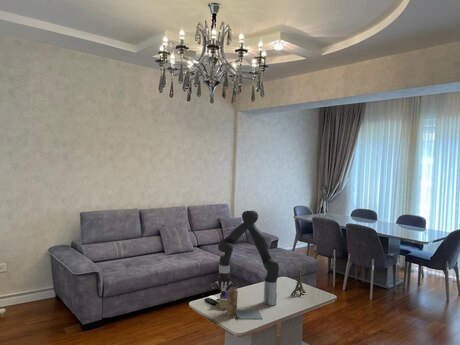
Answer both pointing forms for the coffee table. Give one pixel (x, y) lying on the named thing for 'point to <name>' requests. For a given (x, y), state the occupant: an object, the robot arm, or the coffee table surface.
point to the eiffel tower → (299, 284)
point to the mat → (248, 314)
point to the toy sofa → (223, 300)
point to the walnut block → (232, 302)
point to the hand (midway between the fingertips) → (223, 296)
